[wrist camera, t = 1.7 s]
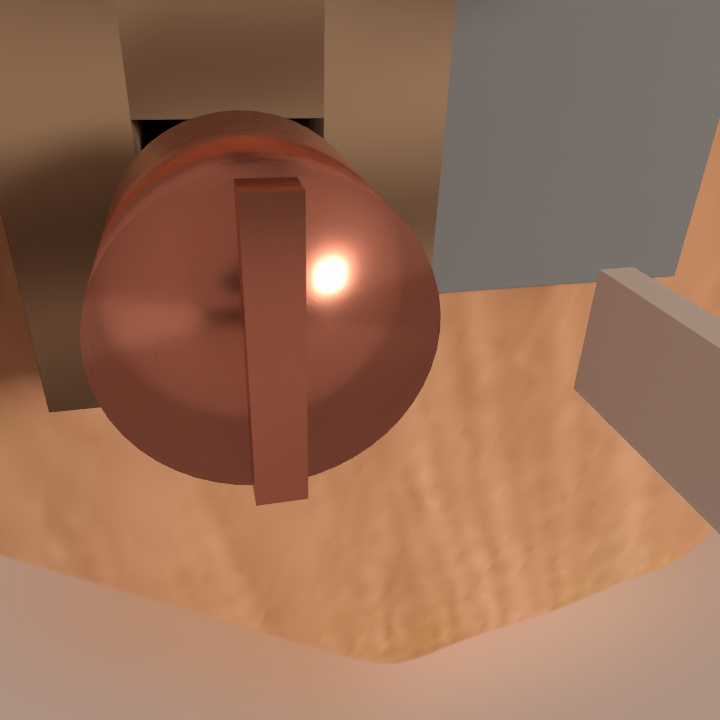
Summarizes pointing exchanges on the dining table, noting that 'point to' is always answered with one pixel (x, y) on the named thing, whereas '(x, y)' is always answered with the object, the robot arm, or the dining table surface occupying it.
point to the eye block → (192, 99)
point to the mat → (573, 138)
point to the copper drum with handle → (255, 306)
